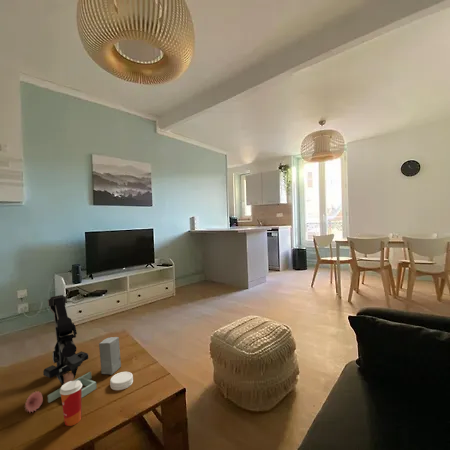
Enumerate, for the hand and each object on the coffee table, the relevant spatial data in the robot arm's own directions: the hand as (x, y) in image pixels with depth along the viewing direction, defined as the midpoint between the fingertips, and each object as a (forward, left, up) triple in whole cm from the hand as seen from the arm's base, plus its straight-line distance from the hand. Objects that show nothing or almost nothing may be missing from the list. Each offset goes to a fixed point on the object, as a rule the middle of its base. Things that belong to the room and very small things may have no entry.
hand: (68, 381), depth 131 cm
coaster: (+24, +11, -2) cm, 26 cm away
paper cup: (+26, -14, -2) cm, 30 cm away
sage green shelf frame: (+11, -2, -1) cm, 11 cm away
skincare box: (+9, +17, -2) cm, 19 cm away
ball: (0, 0, -1) cm, 1 cm away
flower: (+5, -17, -2) cm, 17 cm away
